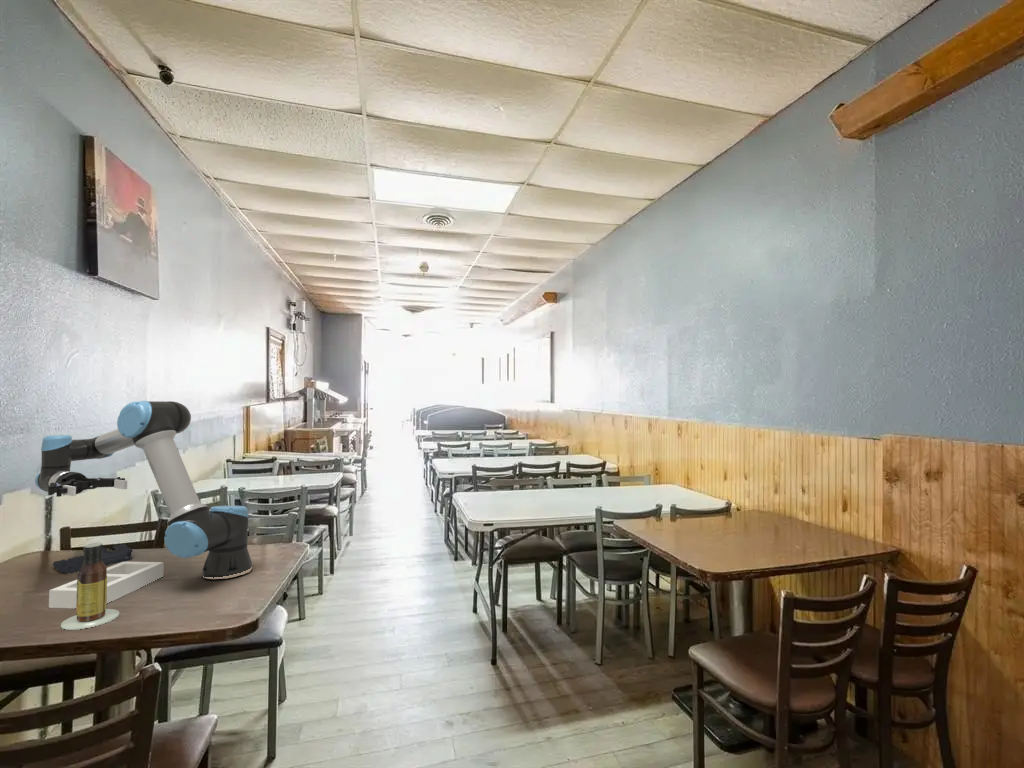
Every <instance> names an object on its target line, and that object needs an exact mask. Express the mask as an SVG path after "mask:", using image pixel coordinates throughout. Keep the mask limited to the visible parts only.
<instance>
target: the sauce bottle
mask: <svg viewBox="0 0 1024 768" xmlns="http://www.w3.org/2000/svg"><path fill="white" fill-rule="evenodd" d="M102 548H104V546H103V543H102V542H91V543H87V544H85V545H83V548H82V552H83V556H84V560H83V564H82V567H81V569H80V571H79V572H78V574H77V576H76V580H77V604H76V609H75V611H76V613H75V614H76V615H77V620H78V621H82V622H83V621H93V620H96V619H98V618H101V617H103V616H104V615H105V612H106V610H105V609H107V604H106V603H107V568H108V567H107V566H106V565H105V564H104V563H103V562H102V560H101V559H102V557H101V555H102Z"/></svg>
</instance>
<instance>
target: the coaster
mask: <svg viewBox="0 0 1024 768" xmlns="http://www.w3.org/2000/svg"><path fill="white" fill-rule="evenodd" d="M105 610H106V612H105V615H104V616H103V617H101V618H98V619H96V620H93V621H83V622H82V621H78V620H77V615H73V616H70V617H67V618H66V619H65V620H63V621H62V622H61V624H60V628H61V630H64V629H65V630H64V631H80V629H82V630H86V629H85V628H88V629H92V628H91V627H93V628H94V627H95V626H96V627H100V626H103V625H106V624H109V623H111V622H112V620H113V621H114V620H116V619H117V618H118V617H119V616H120V611H119V610H117V609H114V608H113V609H112V608H106V609H105ZM105 623H106V624H105ZM99 625H100V626H99ZM96 627H95V628H96Z"/></svg>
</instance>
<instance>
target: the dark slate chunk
mask: <svg viewBox="0 0 1024 768" xmlns="http://www.w3.org/2000/svg"><path fill="white" fill-rule="evenodd" d="M132 552H133V549H132V548H131V547H128V545H127V544H126V543H121V544H118V545H117V544H116V545H115V544H114V545H113V546H112V545H111V548H106V547H103V548H102V555H101V557H102V559H101V560H102V562H103V563H104V564H105V565H106V567H107V566H110V565H111V566H112V565H116V564H119V563H121V562H130V561H132V560H133V559H134V557H133V556H131V555H132ZM83 560H84V555H79V556H74V557H71V558H67V559H60V560H55V561H54V562H53V563H52V566H53V567H54V568H55V569H57V571H58V572H60V573H61V574H64V573H66V574H65V575H68V573H70V574H74V573H73V572H75V573H79V572H78V571H80V569H81V567H82V564H83Z"/></svg>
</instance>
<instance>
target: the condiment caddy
mask: <svg viewBox="0 0 1024 768" xmlns="http://www.w3.org/2000/svg"><path fill="white" fill-rule="evenodd" d="M164 565H165V561H164V562H163V561H124V562H120V563H116V564H112V565H111V566H109V567H106V568H107V603H108V604H110V603H112V602H114V601H116V600H118V599H121V598H122V597H125V596H127V595H129V594H131V593H133V592H135V591H137V590H139V589H141V587H142V588H143V586H144V587H145V585H146V586H148V585H150V584H152V583H154V582H156V581H158V580H157V579H159V578H161V577H163V578H164V570H165V569H164V567H165V566H164ZM161 579H162V578H161ZM155 580H156V581H155ZM159 580H160V579H159ZM153 581H154V582H153ZM151 582H152V583H151ZM149 583H150V584H149ZM147 584H148V585H147ZM48 595H49V597H48V609H75V608H76V604H77V579H75V580H72V581H70V582H67V583H64V584H62V585H60V586H57V587H54V588H51V589H49V594H48ZM111 601H112V602H111ZM109 602H110V603H109ZM107 603H106V605H107Z"/></svg>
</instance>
